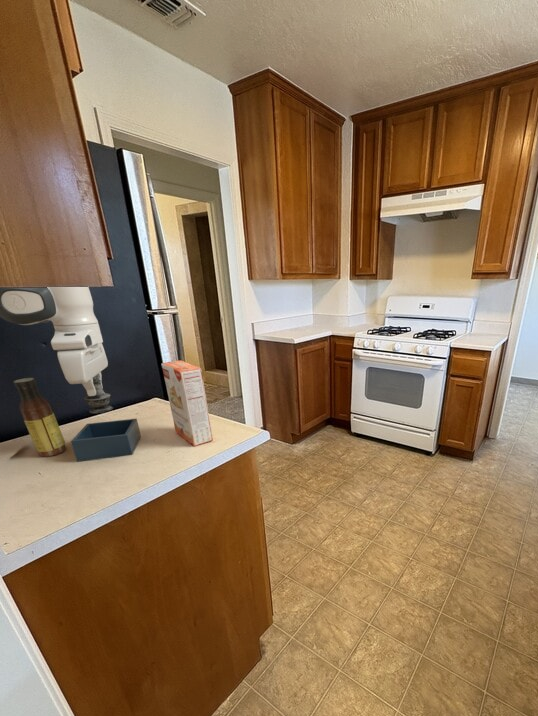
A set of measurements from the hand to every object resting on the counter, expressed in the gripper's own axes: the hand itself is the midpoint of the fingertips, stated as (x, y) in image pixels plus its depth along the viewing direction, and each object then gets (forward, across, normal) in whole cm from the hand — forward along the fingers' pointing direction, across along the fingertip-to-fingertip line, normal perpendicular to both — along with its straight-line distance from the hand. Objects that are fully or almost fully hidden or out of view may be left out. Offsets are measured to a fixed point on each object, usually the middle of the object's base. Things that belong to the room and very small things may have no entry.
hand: (95, 392), depth 89 cm
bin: (+16, 0, 0) cm, 16 cm away
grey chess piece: (+5, 0, 0) cm, 5 cm away
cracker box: (+16, -1, +21) cm, 26 cm away
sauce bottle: (+16, -2, -14) cm, 22 cm away
